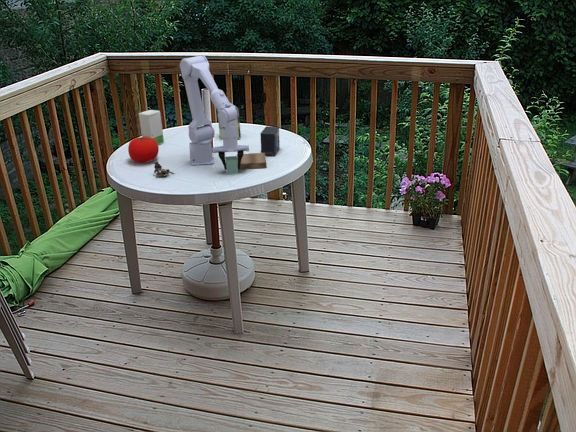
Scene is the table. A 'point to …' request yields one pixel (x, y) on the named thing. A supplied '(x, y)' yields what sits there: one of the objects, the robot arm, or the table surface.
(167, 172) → the gnarled brown figurine
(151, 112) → the skincare box
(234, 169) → the teal block
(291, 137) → the table surface
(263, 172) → the table surface
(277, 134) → the small box
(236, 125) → the coffee can
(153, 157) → the tomato
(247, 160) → the walnut slab
